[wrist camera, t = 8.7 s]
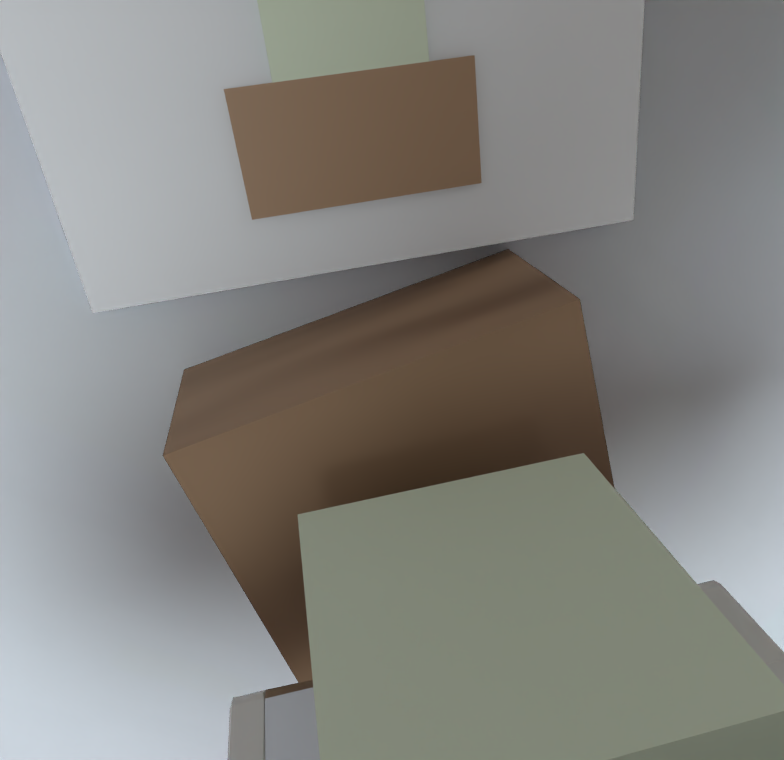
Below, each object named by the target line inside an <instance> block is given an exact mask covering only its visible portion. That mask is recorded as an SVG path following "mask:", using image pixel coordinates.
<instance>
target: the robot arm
mask: <svg viewBox="0 0 784 760" xmlns="http://www.w3.org/2000/svg"><path fill="white" fill-rule="evenodd" d="M697 585H698V586H699V587H700V588H701V589H702V591H703V592H704V593H705V594H706V595H707V596H708V598H709V599H710V600H711V601H712V602H713V603H714V604H715V606H716V607H717V608H718V609H719V610H720V611H721V613H722V614H723V615H724V616H725V617H726V618H727V620H728V621H729V622H730V623H731V624H732V625H733V627H734V628H735V629H736V630H737V631H738V632H739V633H740V635H741V636H742V637H743V638H744V639H745V640H746V642H747V643H748V644H749V645H750V646H751V647H752V649H753V650H754V651H755V652H756V653H757V654H758V655H759V657H760V658H761V659H762V660H763V661H764V662H765V664H766V665H767V666H768V667H769V668H770V669H771V671H772V672H773V673H774V674H775V675H776V676H777V678H778V679H779V680H780V681H781V682H782V683H783V684H784V652H783V651H782V650H781V649H780V647H779V646H778V645H777V644H776V643H775V642H774V641H773V640H772V639H771V638H770V637H769V636H768V635H767V633H766V632H765V631H764V630H763V629H762V628H761V627H760V626H759V625H758V624H757V623H756V622H755V620H754V619H753V618H752V617H751V616H750V615H749V614H748V613H747V612H746V611H745V610H744V609H743V607H742V606H741V605H740V604H739V603H738V602H737V601H736V600H735V599H734V598H733V597H732V596H731V594H730V593H729V592H728V591H727V590H726V589H725V588H724V587H723V586H722V585H721V584H720V583H718V582H716V581H714V580H713V581H708V582H704V583H700V584H697ZM228 760H320V754H319V743H318V732H317V722H316V711H315V700H314V689H313V680H310V681H305V682H300V683H296V684H291V685H287V686H282V687H277V688H273V689H268V690H264V691H260V692H256V693H251V694H247V695H243V696H238V697H234V698H233V700H232V703H231V707H230V718H229V740H228Z"/></svg>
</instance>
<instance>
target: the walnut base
mask: <svg viewBox="0 0 784 760" xmlns="http://www.w3.org/2000/svg"><path fill="white" fill-rule="evenodd" d="M581 453H584V454H585V455H586V456H587V457H588V458H589V460H590V461H591V462H592V463H593V464H594V465H595V467H596V468H597V469H598V470H599V471H600V472H601V473H602V475H603V476H604V477H605V478H606V479H607V480H608V482H609V483H610V484H611V485H612V486H613V487H614V484H613V478H612V473H611V467H610V462H609V456H608V451H607V445H606V440H605V434H604V429H603V423H602V418H601V413H600V407H599V402H598V396H597V391H596V385H595V380H594V374H593V369H592V363H591V358H590V352H589V347H588V341H587V336H586V330H585V325H584V320H583V314H582V309H581V303H580V299H579V298H578V297H576V296H575V295H573V294H572V293H570V292H569V291H568V290H566V289H565V288H563V287H562V286H560V285H559V284H558V283H556V282H555V281H553V280H552V279H550V278H549V277H547V276H546V275H545V274H543V273H542V272H540V271H539V270H537V269H536V268H535V267H533V266H532V265H530V264H529V263H527V262H526V261H525V260H523V259H522V258H520V257H519V256H517V255H516V254H515V253H513V252H512V251H510V250H509V249H507V250H504V251H502V252H499V253H496V254H494V255H491V256H488V257H486V258H483V259H480V260H477V261H475V262H472V263H469V264H467V265H464V266H461V267H459V268H456V269H453V270H451V271H448V272H445V273H443V274H440V275H437V276H435V277H432V278H429V279H426V280H424V281H421V282H418V283H416V284H413V285H410V286H408V287H405V288H402V289H400V290H397V291H394V292H392V293H389V294H386V295H383V296H381V297H378V298H375V299H373V300H370V301H367V302H365V303H362V304H359V305H357V306H354V307H351V308H349V309H346V310H343V311H341V312H338V313H335V314H332V315H330V316H327V317H324V318H322V319H319V320H316V321H314V322H311V323H308V324H306V325H303V326H300V327H298V328H295V329H292V330H289V331H287V332H284V333H281V334H279V335H276V336H273V337H271V338H268V339H265V340H263V341H260V342H257V343H255V344H252V345H249V346H247V347H244V348H241V349H238V350H236V351H233V352H230V353H228V354H225V355H222V356H220V357H217V358H214V359H212V360H209V361H206V362H204V363H201V364H198V365H195V366H193V367H190V368H187V369H185V370H184V372H183V376H182V380H181V384H180V388H179V392H178V396H177V401H176V405H175V409H174V413H173V417H172V421H171V425H170V429H169V433H168V437H167V441H166V445H165V449H164V453H163V457H164V458H165V460H166V462H167V463H168V465H169V467H170V468H171V470H172V472H173V473H174V475H175V477H176V478H177V480H178V482H179V484H180V485H181V487H182V489H183V490H184V492H185V494H186V495H187V497H188V499H189V500H190V502H191V504H192V505H193V507H194V509H195V510H196V512H197V514H198V515H199V517H200V519H201V520H202V522H203V524H204V525H205V527H206V529H207V530H208V532H209V534H210V535H211V537H212V539H213V540H214V542H215V544H216V545H217V547H218V549H219V550H220V552H221V554H222V555H223V557H224V559H225V560H226V562H227V564H228V565H229V567H230V569H231V570H232V572H233V574H234V575H235V577H236V579H237V580H238V582H239V584H240V585H241V587H242V589H243V590H244V592H245V594H246V595H247V597H248V599H249V600H250V602H251V604H252V605H253V607H254V609H255V611H256V612H257V614H258V616H259V617H260V619H261V621H262V622H263V624H264V626H265V627H266V629H267V631H268V632H269V634H270V636H271V637H272V639H273V641H274V642H275V644H276V646H277V647H278V649H279V651H280V652H281V654H282V656H283V657H284V659H285V661H286V662H287V664H288V666H289V667H290V669H291V671H292V672H293V674H294V676H295V677H296V679H297V681H298V682H299V683H300V682H305V681H310V680H313V678H312V667H311V656H310V645H309V635H308V624H307V613H306V602H305V591H304V580H303V569H302V558H301V547H300V537H299V526H298V515H297V514H302V513H307V512H311V511H316V510H321V509H325V508H330V507H335V506H339V505H344V504H349V503H353V502H358V501H363V500H367V499H372V498H376V497H381V496H386V495H390V494H395V493H400V492H404V491H409V490H414V489H418V488H423V487H428V486H432V485H437V484H442V483H446V482H451V481H456V480H460V479H465V478H470V477H474V476H479V475H483V474H488V473H493V472H497V471H502V470H507V469H511V468H516V467H521V466H525V465H530V464H535V463H539V462H544V461H549V460H553V459H558V458H563V457H567V456H572V455H577V454H581Z"/></svg>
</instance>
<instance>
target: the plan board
mask: <svg viewBox="0 0 784 760" xmlns="http://www.w3.org/2000/svg"><path fill="white" fill-rule="evenodd" d="M644 4H645V0H0V53H1V56H2V59H3V61H4V64H5V67H6V70H7V73H8V76H9V78H10V81H11V84H12V87H13V90H14V93H15V95H16V98H17V101H18V104H19V107H20V110H21V112H22V115H23V118H24V121H25V124H26V127H27V129H28V132H29V135H30V138H31V141H32V144H33V146H34V149H35V152H36V155H37V158H38V161H39V163H40V166H41V169H42V172H43V175H44V178H45V180H46V183H47V186H48V189H49V192H50V195H51V197H52V200H53V203H54V206H55V209H56V212H57V214H58V217H59V220H60V223H61V226H62V229H63V231H64V234H65V237H66V240H67V243H68V246H69V248H70V251H71V254H72V257H73V260H74V263H75V265H76V268H77V271H78V274H79V277H80V280H81V282H82V285H83V288H84V291H85V294H86V297H87V299H88V302H89V305H90V308H91V311H92V313H98V312H104V311H109V310H115V309H121V308H127V307H133V306H139V305H144V304H150V303H156V302H162V301H168V300H173V299H179V298H185V297H191V296H197V295H202V294H208V293H214V292H220V291H226V290H232V289H237V288H243V287H249V286H255V285H261V284H266V283H272V282H278V281H284V280H290V279H295V278H301V277H307V276H313V275H319V274H325V273H330V272H336V271H342V270H348V269H354V268H359V267H365V266H371V265H377V264H383V263H388V262H394V261H400V260H406V259H412V258H418V257H423V256H429V255H435V254H441V253H447V252H452V251H458V250H464V249H470V248H476V247H481V246H487V245H493V244H499V243H505V242H511V241H516V240H522V239H528V238H534V237H540V236H545V235H551V234H557V233H563V232H569V231H574V230H580V229H586V228H592V227H598V226H604V225H609V224H615V223H621V222H627V221H633V219H634V199H635V180H636V160H637V141H638V121H639V102H640V82H641V63H642V43H643V24H644Z"/></svg>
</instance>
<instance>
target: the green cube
mask: <svg viewBox="0 0 784 760" xmlns="http://www.w3.org/2000/svg"><path fill="white" fill-rule="evenodd" d="M297 515H298V526H299V537H300V547H301V558H302V569H303V580H304V591H305V602H306V613H307V624H308V635H309V645H310V656H311V667H312V678H313V689H314V700H315V711H316V722H317V732H318V743H319V754H320V760H784V684H783V683H782V682H781V681H780V680H779V679H778V678H777V676H776V675H775V674H774V673H773V672H772V671H771V669H770V668H769V667H768V666H767V665H766V664H765V662H764V661H763V660H762V659H761V658H760V657H759V655H758V654H757V653H756V652H755V651H754V650H753V649H752V647H751V646H750V645H749V644H748V643H747V642H746V640H745V639H744V638H743V637H742V636H741V635H740V633H739V632H738V631H737V630H736V629H735V628H734V627H733V625H732V624H731V623H730V622H729V621H728V620H727V618H726V617H725V616H724V615H723V614H722V613H721V611H720V610H719V609H718V608H717V607H716V606H715V604H714V603H713V602H712V601H711V600H710V599H709V598H708V596H707V595H706V594H705V593H704V592H703V591H702V589H701V588H700V587H699V586H698V585H697V584H696V582H695V581H694V580H693V579H692V578H691V577H690V576H689V574H688V573H687V572H686V571H685V570H684V569H683V567H682V566H681V565H680V564H679V563H678V562H677V560H676V559H675V558H674V557H673V556H672V555H671V553H670V552H669V551H668V550H667V549H666V548H665V547H664V545H663V544H662V543H661V542H660V541H659V540H658V538H657V537H656V536H655V535H654V534H653V533H652V531H651V530H650V529H649V528H648V527H647V526H646V524H645V523H644V522H643V521H642V520H641V519H640V518H639V516H638V515H637V514H636V513H635V512H634V511H633V509H632V508H631V507H630V506H629V505H628V504H627V502H626V501H625V500H624V499H623V498H622V497H621V496H620V494H619V493H618V492H617V491H616V490H615V489H614V487H613V486H612V485H611V484H610V483H609V482H608V480H607V479H606V478H605V477H604V476H603V475H602V473H601V472H600V471H599V470H598V469H597V468H596V467H595V465H594V464H593V463H592V462H591V461H590V460H589V458H588V457H587V456H586V455H585V454H584V453H581V454H577V455H572V456H567V457H563V458H558V459H553V460H549V461H544V462H539V463H535V464H530V465H525V466H521V467H516V468H511V469H507V470H502V471H497V472H493V473H488V474H483V475H479V476H474V477H470V478H465V479H460V480H456V481H451V482H446V483H442V484H437V485H432V486H428V487H423V488H418V489H414V490H409V491H404V492H400V493H395V494H390V495H386V496H381V497H376V498H372V499H367V500H363V501H358V502H353V503H349V504H344V505H339V506H335V507H330V508H325V509H321V510H316V511H311V512H307V513H302V514H297Z"/></svg>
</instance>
